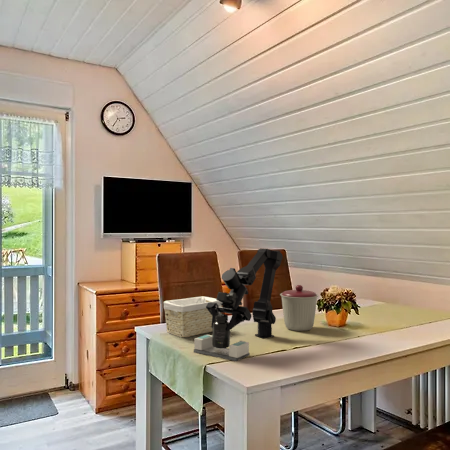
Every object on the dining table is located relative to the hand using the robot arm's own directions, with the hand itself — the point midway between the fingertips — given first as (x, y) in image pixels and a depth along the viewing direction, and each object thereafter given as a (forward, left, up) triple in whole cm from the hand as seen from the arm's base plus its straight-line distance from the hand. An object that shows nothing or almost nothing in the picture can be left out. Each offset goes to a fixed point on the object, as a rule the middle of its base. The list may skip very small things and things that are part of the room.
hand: (219, 329), depth 165 cm
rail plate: (0, +1, -10) cm, 10 cm away
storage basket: (-38, +7, -10) cm, 40 cm away
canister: (-18, +54, -10) cm, 58 cm away
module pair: (0, +1, -8) cm, 9 cm away
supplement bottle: (-1, +1, -7) cm, 7 cm away
